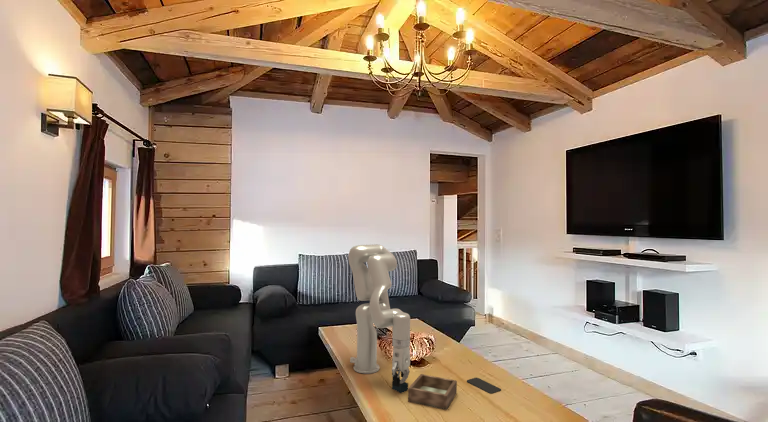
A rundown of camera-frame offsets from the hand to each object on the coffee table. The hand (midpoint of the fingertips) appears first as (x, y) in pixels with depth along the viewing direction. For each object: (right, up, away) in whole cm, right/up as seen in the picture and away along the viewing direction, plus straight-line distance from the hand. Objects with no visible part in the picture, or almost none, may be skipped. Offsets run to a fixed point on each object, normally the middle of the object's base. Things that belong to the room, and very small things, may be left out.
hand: (400, 381), depth 179 cm
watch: (0, -4, 0) cm, 4 cm away
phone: (+37, -5, +6) cm, 38 cm away
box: (+13, -4, -7) cm, 15 cm away
